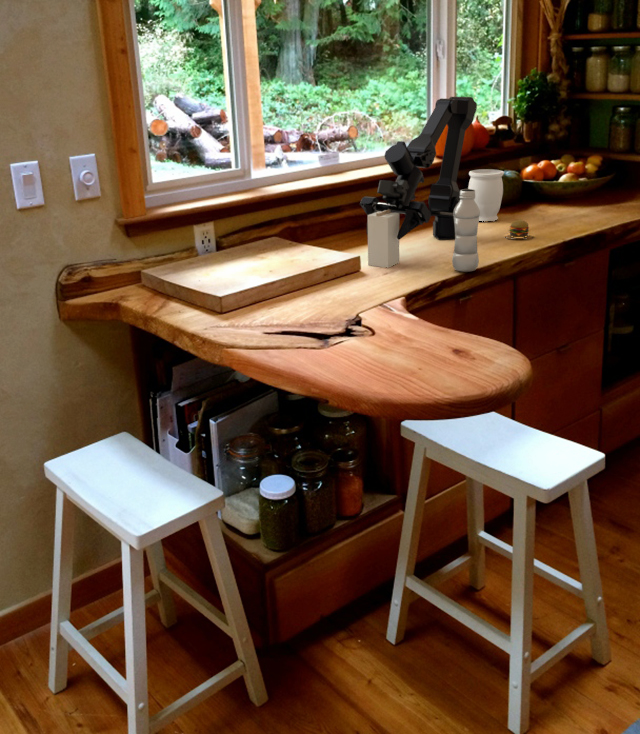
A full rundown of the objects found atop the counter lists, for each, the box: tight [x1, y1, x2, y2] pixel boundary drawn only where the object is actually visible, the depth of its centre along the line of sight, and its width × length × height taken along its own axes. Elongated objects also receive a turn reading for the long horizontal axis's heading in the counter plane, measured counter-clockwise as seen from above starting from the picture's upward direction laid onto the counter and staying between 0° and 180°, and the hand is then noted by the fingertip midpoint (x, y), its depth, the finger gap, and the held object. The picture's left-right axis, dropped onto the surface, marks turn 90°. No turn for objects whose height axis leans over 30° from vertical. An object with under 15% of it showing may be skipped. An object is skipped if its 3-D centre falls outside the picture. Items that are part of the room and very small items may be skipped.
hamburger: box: [505, 219, 530, 239], centre depth 234 cm, size 12×12×6 cm
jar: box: [467, 168, 505, 223], centre depth 255 cm, size 11×10×15 cm
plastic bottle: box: [451, 188, 480, 273], centre depth 200 cm, size 6×7×20 cm
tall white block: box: [367, 209, 400, 269], centre depth 210 cm, size 6×6×14 cm
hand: (382, 236), depth 210 cm, fingers open, 9 cm apart
